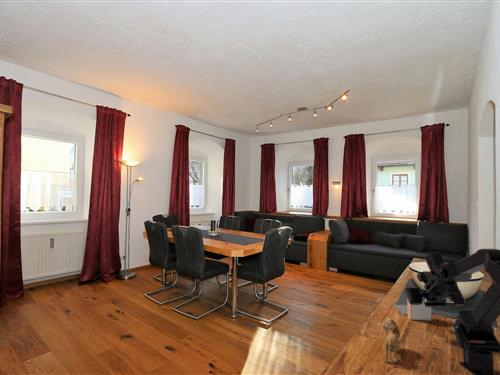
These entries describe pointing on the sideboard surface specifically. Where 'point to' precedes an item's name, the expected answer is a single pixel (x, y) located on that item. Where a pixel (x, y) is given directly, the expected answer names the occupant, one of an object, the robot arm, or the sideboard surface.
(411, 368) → the sideboard surface
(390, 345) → the dog figurine
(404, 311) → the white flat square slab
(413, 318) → the tile
